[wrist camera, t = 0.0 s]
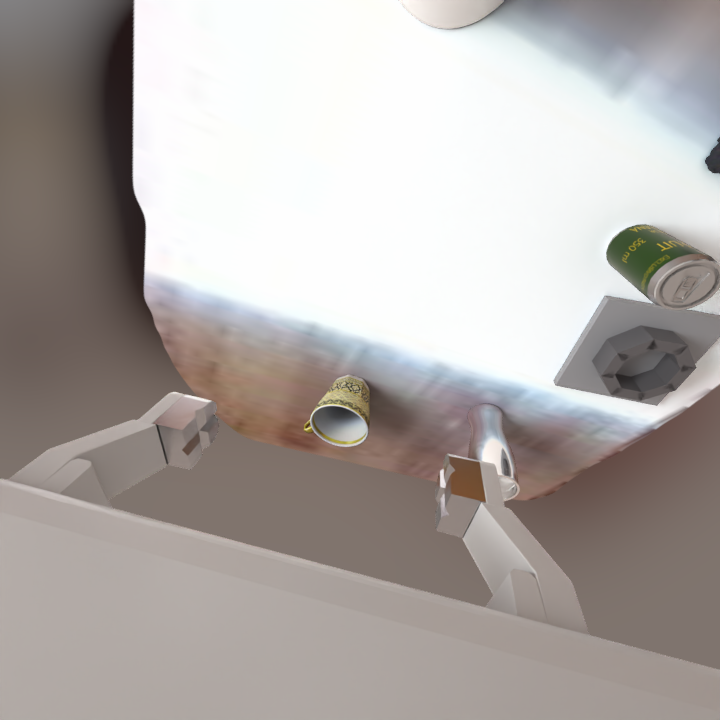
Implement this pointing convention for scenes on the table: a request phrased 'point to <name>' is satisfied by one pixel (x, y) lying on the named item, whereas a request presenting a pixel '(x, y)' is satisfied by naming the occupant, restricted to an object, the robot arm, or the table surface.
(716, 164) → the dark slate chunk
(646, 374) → the barrel holder
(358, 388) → the ceramic cup
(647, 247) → the beer can
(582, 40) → the table surface
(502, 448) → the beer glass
